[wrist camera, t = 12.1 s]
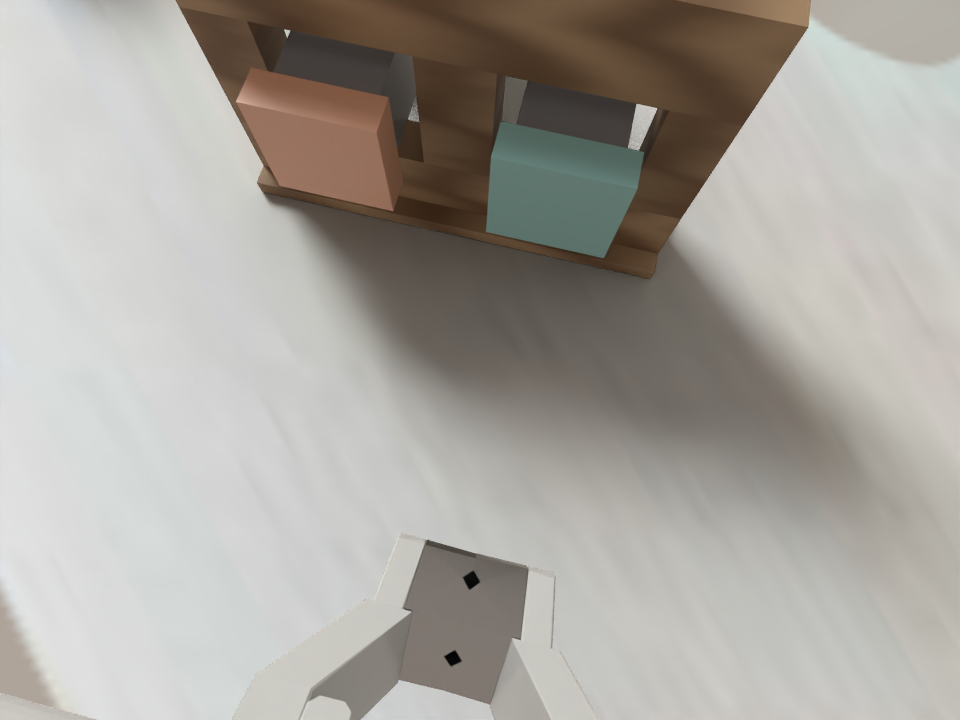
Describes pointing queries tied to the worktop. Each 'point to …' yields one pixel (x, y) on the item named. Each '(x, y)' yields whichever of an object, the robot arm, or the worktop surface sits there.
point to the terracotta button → (332, 118)
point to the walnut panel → (538, 58)
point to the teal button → (564, 170)
